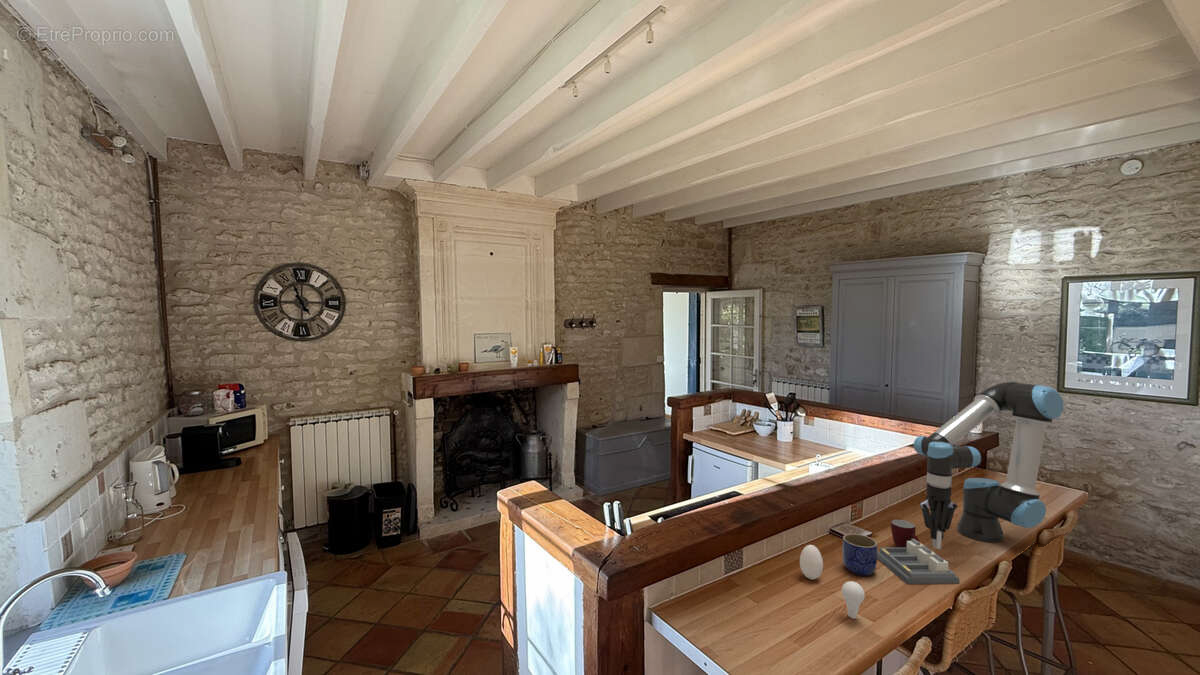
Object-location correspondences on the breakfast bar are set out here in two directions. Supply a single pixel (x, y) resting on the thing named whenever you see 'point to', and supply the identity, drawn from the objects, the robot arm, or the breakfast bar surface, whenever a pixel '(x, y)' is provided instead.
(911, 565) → the switch bank
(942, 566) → the white and grey block
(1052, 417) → the robot arm
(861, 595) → the lightbulb
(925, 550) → the tab
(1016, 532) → the breakfast bar surface
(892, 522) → the mug
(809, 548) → the egg
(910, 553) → the tab
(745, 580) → the breakfast bar surface
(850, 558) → the planter
